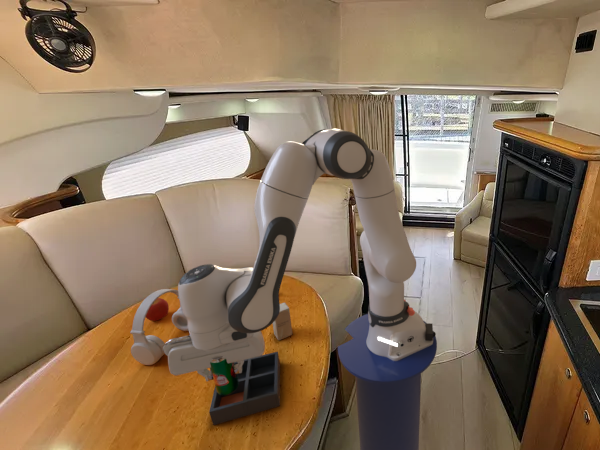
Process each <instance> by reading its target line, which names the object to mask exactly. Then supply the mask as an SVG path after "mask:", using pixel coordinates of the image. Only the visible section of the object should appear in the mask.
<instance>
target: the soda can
mask: <svg viewBox="0 0 600 450" xmlns="http://www.w3.org/2000/svg"><path fill="white" fill-rule="evenodd" d="M212 359H213V360H212V361H211V362H210V364H211V368H209V369H210V370H211V373H212V377H213V380H212V381H213V383H214V388H215V387H216V390H217V393H218V394H219V395H229V394H231V393H233V392H234V391H235V390H236V389H237V387H238V385H239V381H238V377H237V374H235V372H234V368H235V365H234V362H233V363H227V360H226V359H225V358H223V356H221V357H218V358H212ZM210 370H209V371H210Z"/></svg>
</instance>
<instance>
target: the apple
mask: <svg viewBox="0 0 600 450" xmlns="http://www.w3.org/2000/svg"><path fill="white" fill-rule="evenodd" d="M169 309H170V308H169V303H168V302H167V300H165V299H164V298H161V297H158V298H157V299H156V300H155V301H154V302H153V304H152V305H151V306H150V308H149V310H148V312H147V314H146V317H145V319H147V320H148V321H151V322H154V321H160V320H163V319H164V318H165V317H166V316H168V314H169Z"/></svg>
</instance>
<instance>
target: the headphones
mask: <svg viewBox="0 0 600 450" xmlns="http://www.w3.org/2000/svg"><path fill="white" fill-rule="evenodd" d="M169 293H172V294H174V295H176V296H177V299H178V300H179V301H180V299H179V293H178V289H170V288H162V289H158V290H156V291H153V292H152V293H150V294H149V295H147V296H146V297H145V298H144V299H143V300H142V302H141V303H140V304H139V305H138V308H137V309H136V312H135V313H134V317H133V321H132V327H131V330H130V332H129V333H130V334H131V335H132V338H133V344H132V345H131V347H130V354H131V356H132V358H133V359H134V360H135V361H136V362H138V363H140V364H142V365H145V366H152V365H154V364H156V363H157V362H158V361H160V359H161V358H162V357H163V356H164V355H166V354H165V352H164V349H163V346H164V344H165V343H166V342H164V340H163V339H161V338H160V337H159V336H157V335H153V334H149V335H146V334H145V333H146V331H145V330H144V324H145V320H146V314H147V312H148V310H149V308H150V306H151V305H152V304H153V302H154V301H155V300H156V299H157V298H161V296H163V295H165V294H169ZM171 323H172V324H173V326H174V327H175V328H176V329H178V330H180V331H182V332H189V330H188V326H187V325H188V319H187V317H186V316H185V315H184V313H183V311H182V307H181V304H180V303H179V308H178V309H177V311H175V312H174V313H173V314H172V316H171Z"/></svg>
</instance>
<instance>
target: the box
mask: <svg viewBox="0 0 600 450" xmlns="http://www.w3.org/2000/svg"><path fill="white" fill-rule="evenodd" d="M291 320H292V319H291V312H290V307H289V306H288V304H287V303H286V302H282V303H280V311H279V315H278V317H277V319H276V320H275V321H274V322H273V323H272V328H273V334H274V336H275V338H276V339H277V340H278V341H281V340H284V339H285V338H288V337H290V336H292V335H293V327H292V321H291Z"/></svg>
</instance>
